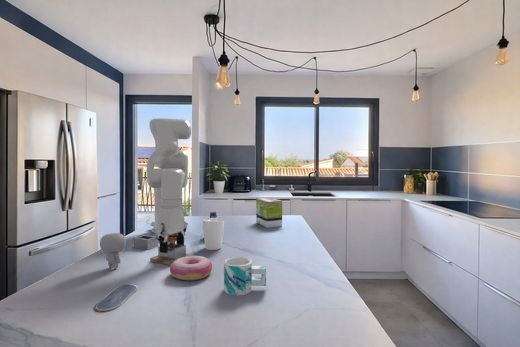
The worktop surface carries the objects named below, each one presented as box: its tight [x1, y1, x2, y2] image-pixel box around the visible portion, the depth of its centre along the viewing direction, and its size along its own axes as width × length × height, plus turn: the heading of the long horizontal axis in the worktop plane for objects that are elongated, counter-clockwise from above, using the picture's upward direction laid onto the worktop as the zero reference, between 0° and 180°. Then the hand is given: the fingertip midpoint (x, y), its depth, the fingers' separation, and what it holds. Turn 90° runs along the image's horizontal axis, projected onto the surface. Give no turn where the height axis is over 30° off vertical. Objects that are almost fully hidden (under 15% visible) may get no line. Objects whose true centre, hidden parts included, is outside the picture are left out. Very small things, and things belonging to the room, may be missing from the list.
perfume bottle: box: [209, 211, 218, 218], centre depth 153 cm, size 6×6×12 cm
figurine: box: [99, 232, 127, 270], centre depth 110 cm, size 8×8×12 cm
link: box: [157, 242, 187, 260], centre depth 119 cm, size 8×6×4 cm
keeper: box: [149, 240, 195, 266], centre depth 119 cm, size 12×10×7 cm
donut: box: [169, 255, 213, 281], centre depth 104 cm, size 14×13×5 cm
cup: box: [202, 217, 225, 251], centre depth 135 cm, size 9×9×12 cm
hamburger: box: [163, 233, 178, 241], centre depth 152 cm, size 9×10×7 cm
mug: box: [223, 256, 267, 296], centre depth 93 cm, size 8×12×8 cm
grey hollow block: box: [133, 234, 159, 251], centre depth 137 cm, size 8×6×4 cm
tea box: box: [255, 197, 283, 229], centre depth 183 cm, size 15×10×15 cm, turn 25°
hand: (172, 249), depth 119 cm, fingers open, 8 cm apart
